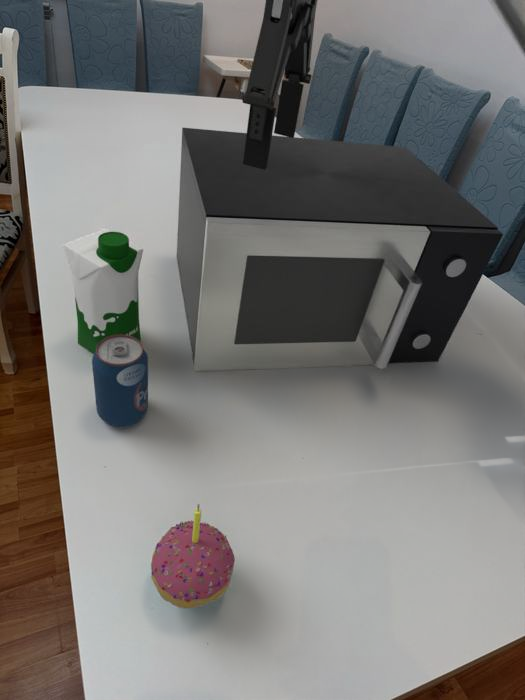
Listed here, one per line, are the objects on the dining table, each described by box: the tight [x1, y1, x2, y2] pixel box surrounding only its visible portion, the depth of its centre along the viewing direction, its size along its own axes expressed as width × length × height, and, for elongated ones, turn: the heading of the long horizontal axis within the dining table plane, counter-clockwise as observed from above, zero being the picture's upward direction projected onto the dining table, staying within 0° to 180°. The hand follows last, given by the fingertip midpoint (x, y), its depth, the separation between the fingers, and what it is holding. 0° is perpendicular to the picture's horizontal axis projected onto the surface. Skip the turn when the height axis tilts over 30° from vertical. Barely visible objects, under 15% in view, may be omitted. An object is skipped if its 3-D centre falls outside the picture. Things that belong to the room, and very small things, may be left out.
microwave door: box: [193, 217, 430, 372], centre depth 73 cm, size 8×32×26 cm, turn 102°
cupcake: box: [150, 503, 236, 609], centre depth 50 cm, size 9×8×12 cm
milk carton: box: [62, 228, 144, 355], centre depth 74 cm, size 9×9×20 cm
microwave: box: [176, 127, 504, 364], centre depth 88 cm, size 35×44×26 cm
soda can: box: [91, 335, 149, 429], centre depth 66 cm, size 7×7×12 cm
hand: (270, 149), depth 62 cm, fingers open, 13 cm apart
